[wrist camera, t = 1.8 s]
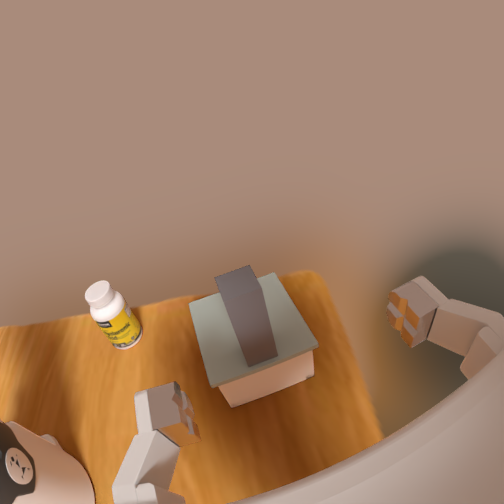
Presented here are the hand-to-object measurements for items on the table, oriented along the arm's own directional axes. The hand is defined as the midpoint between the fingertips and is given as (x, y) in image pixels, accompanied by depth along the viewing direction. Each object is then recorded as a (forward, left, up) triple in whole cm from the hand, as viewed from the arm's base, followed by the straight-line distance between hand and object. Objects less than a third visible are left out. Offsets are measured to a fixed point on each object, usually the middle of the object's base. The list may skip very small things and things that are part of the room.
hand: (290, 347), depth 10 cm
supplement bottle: (-17, +27, -23) cm, 40 cm away
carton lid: (0, +16, -17) cm, 23 cm away
